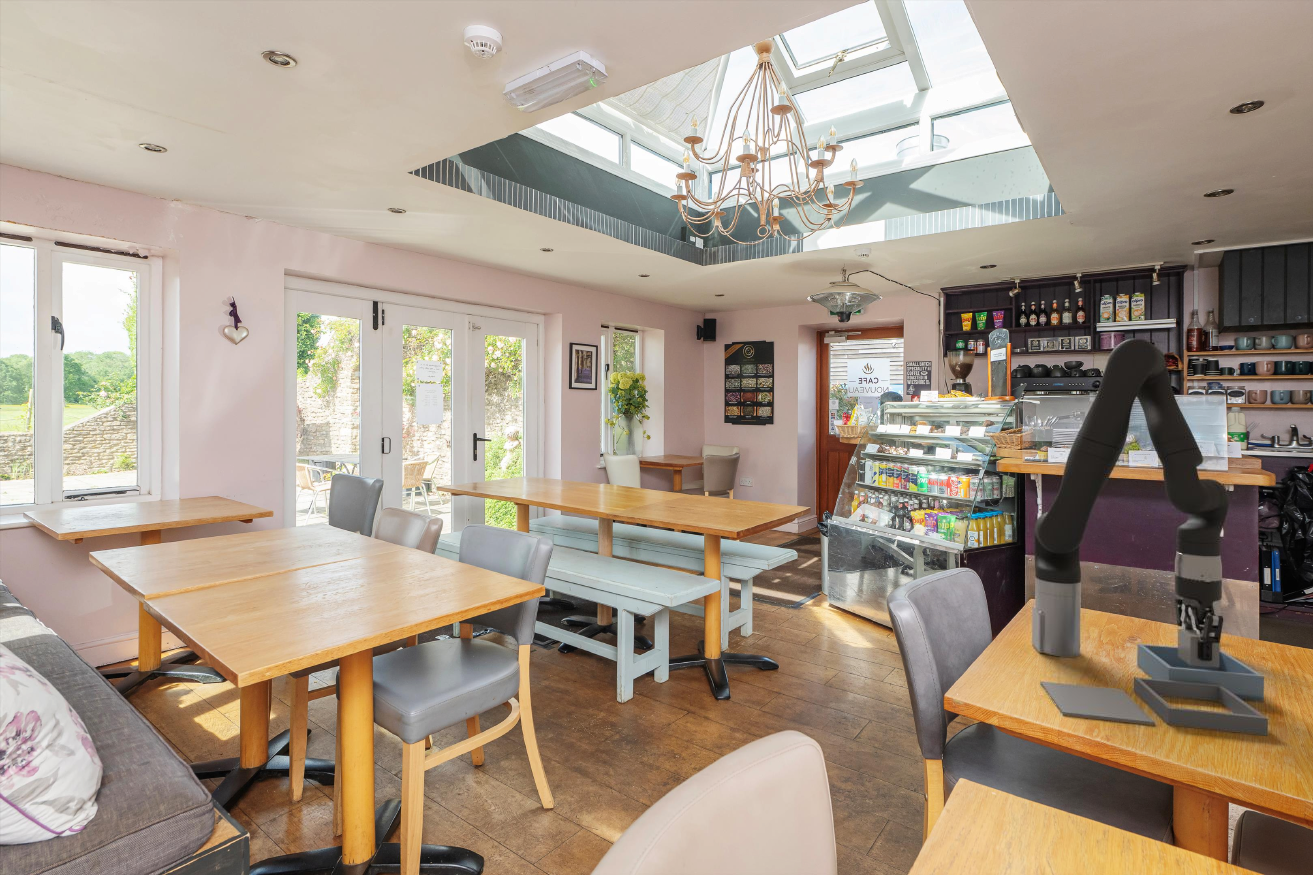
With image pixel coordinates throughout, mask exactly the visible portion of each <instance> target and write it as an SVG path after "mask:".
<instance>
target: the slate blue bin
mask: <svg viewBox="0 0 1313 875" xmlns="http://www.w3.org/2000/svg"><path fill="white" fill-rule="evenodd" d="M1136 654H1137V655H1136V659H1137V660H1136V666H1137V667H1138V668H1139V669H1140V670H1142V672H1144V674H1146V675H1147V676H1148V677H1150V679H1160V680H1171V681H1182V682H1192V683H1203V684H1214V685H1222V686H1223V687H1224V688H1226V689H1227V690H1229V691H1230V692H1231V693H1233V694H1234V695H1236V696H1237V697H1238V698H1240V699H1241V700H1243V701H1252V702H1260V703H1261V702H1262V703H1264V702H1265V700H1264V699H1265V693H1264V692H1265V676H1264V675H1262V674H1261V673H1259V672H1257V671H1256V670H1254V669H1252V668H1251V667H1249V665H1246V664H1244V663H1243V662H1242V661H1240V660H1238V659H1237V658H1235V657H1233V656H1232V655H1230V654H1228V653H1227V652H1225V651H1224V650H1222V649H1220V650H1219V667H1206V666H1193V665H1189V664H1188V663H1186V662H1185V661H1183V660H1182V659H1181V658H1179V657H1178V646H1173V645H1172V646H1169V645H1161V644H1160V645H1157V644H1147V643H1137V652H1136Z"/></svg>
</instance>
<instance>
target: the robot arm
mask: <svg viewBox="0 0 1313 875" xmlns="http://www.w3.org/2000/svg"><path fill="white" fill-rule="evenodd" d="M1167 366H1168V365H1167V363H1166V357H1165V355H1164V352H1163V351H1161V350H1160V349H1159V347H1158V346H1156V345H1154V344H1153V343H1151V342H1150V341H1148V340H1145V339H1144V338H1138V337H1137V338H1136V337H1135V338H1130V339H1126V340H1123V341H1122V342H1121V343H1119V344H1117V345H1116V346H1115V347H1114V348H1113V350H1111V353H1110V354H1109V356H1108V359H1107V361H1106V365H1105V368H1104V371H1103V375H1102V379H1101V381H1100V384H1099V387H1098V389H1097V390H1098V391H1097V393H1096V395H1095V397H1094V399H1093V401H1092V404H1091V406H1090V407H1089V410H1088V412H1087V413H1086V416H1085V418H1084V420H1083V423H1082V424H1081V426H1080V429H1079V430H1078V432H1077V434H1076V437H1075V439H1074V441H1073V443H1072V446H1071V448H1070V451H1069V453H1068V456H1067V459H1066V462H1065V467H1064V470H1063V474H1062V480H1061V484H1060V487H1059V490H1058V492H1057V495H1056V496H1055V498H1054V501H1053V502H1052V505H1051V506H1050V507H1049V510H1048V511H1047V512H1044V513H1043V514H1042V515H1040V516H1039V517H1038V518H1037V519H1036V521H1035V525H1034V569H1035V570H1034V573H1035V575H1034V576H1035V578H1034V579H1035V581H1034V583H1035V585H1034V587H1035V588H1034V590H1035V592H1034V596H1035V597H1034V605H1032V613H1031V617H1032V621H1031V622H1032V624H1031V626H1032V627H1031V628H1032V629H1031V633H1032V634H1031V643H1032V646H1033V647H1034V648H1035V650H1036V651H1037V652H1038V653H1040V654H1046V655H1050V656H1056V657H1063V658H1073V657H1079V656H1081V613H1082V612H1081V611H1082V609H1081V605H1082V602H1081V597H1082V595H1081V594H1082V569H1081V562H1080V560H1081V559H1080V546H1081V543H1082V542H1083V539H1084V535H1085V532H1086V528H1087V525H1088V522H1089V519H1090V517H1091V516H1090V515H1091V513H1092V511H1093V508H1094V505H1095V503H1096V502H1097V499H1098V497H1099V495H1100V494H1101V492H1102V490H1103V489H1104V488H1105V486H1106V484H1107V481H1108V480H1109V479H1110V476H1111V474H1112V472H1113V471H1114V468H1115V467H1116V465H1117V463H1118V461H1119V458H1120V456H1121V454H1122V453H1123V452H1122V451H1123V449H1124V447H1125V445H1126V442H1127V437H1128V433H1129V427H1130V419H1131V412H1132V409H1133V405H1134V403H1135V400H1136V398H1137V399H1138V401H1139V402H1138V403H1140V406H1141V409H1142V411H1143V414H1144V418H1145V422H1146V427H1147V430H1148V434H1149V437H1150V441H1151V444H1152V446H1153V447H1154V451H1155V452H1156V455H1157V457H1158V459H1159V461H1160V463H1161V465H1162V472H1163V480H1164V482H1163V483H1164V488H1165V493H1166V497H1167V499H1168V500H1169V503H1170V504H1171V505H1172V507H1174V508H1175V509H1176V510H1177V511H1178V512H1181V513H1183V514H1188V517H1187V520H1186V522H1184V523H1182V524H1180V525H1179V526H1178V527H1177V530H1176V555H1175V559H1174V594H1175V595H1176V596H1178V597H1180V598H1176V597H1175V598H1174V606H1175V607H1174V608H1175V615H1176V624H1177V626H1178V627H1180V629H1188V630H1195V631H1196V632H1197V638H1198V641H1199V642H1198V659H1200V660H1202V661H1211V660H1212V643H1219V644H1220V642H1221V638H1222V637H1221V636H1222V632H1223V631H1222V630H1223V626H1224V624H1223V623H1224V616H1222V615H1220V616H1217V615H1215V614H1214V608H1213V602H1215V601H1219V600H1221V601H1222V599H1223V596H1222V595H1223V565H1222V559H1221V558H1222V557H1221V533H1222V530H1223V529H1224V525H1225V522H1226V520H1227V518H1226V517H1227V516H1228V512H1229V507H1230V506H1229V505H1230V497H1229V493H1228V491H1227V489H1226V488H1225V486H1224V484H1222V483H1221V482H1219V481H1218V480H1215V479H1213V478H1212V479H1210V478H1201V479H1200V477H1199V476H1200V475H1199V473H1198V472H1199V471H1198V468H1197V467H1199V466H1201V465H1202V464H1203V462H1204V456H1203V453H1202V451H1201V450H1200V447H1199V445H1198V443H1197V441H1196V438H1195V436H1194V434H1193V432H1192V430H1191V428H1190V427H1189V426H1190V425H1189V424H1188V422H1187V420H1186V418H1185V416H1184V415H1183V412H1182V410H1181V409H1180V406H1179V404H1178V402H1177V401H1178V400H1177V399H1176V396H1175V394H1174V391H1173V387H1172V385H1171V381H1170V376H1169V373H1168V372H1169V371H1168V367H1167ZM1199 625H1204V627H1201V626H1199ZM1202 631H1203V635H1202ZM1214 633H1215V635H1214Z"/></svg>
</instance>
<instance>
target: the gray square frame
mask: <svg viewBox="0 0 1313 875" xmlns="http://www.w3.org/2000/svg"><path fill="white" fill-rule="evenodd" d="M1133 692H1134V694H1136V696H1138V698H1139V699H1141V700H1142V701H1143V703H1145V704H1146V705H1147V706H1148V707H1149V708H1150V710H1152V711H1153V712H1155V714H1156V715H1157V716H1158V717H1159V718H1161V720H1163V722H1165V723H1166V724H1167V725H1169V726H1176V727H1177V726H1178V727H1185V728H1186V727H1187V728H1196V729H1204V730H1205V729H1206V730H1214V731H1222V732H1223V731H1224V732H1230V733H1241V734H1247V735H1248V734H1249V735H1256V736H1257V735H1259V736H1265V737H1267V736H1268V735H1269V718H1268V717H1267V716H1265V715H1263V714H1262V713H1261V712H1259V711H1258V710H1257V709H1255V707H1252V706H1251V705H1250V704H1248V703H1247V702H1246V701H1245V700H1241V699H1240V698H1238V697H1237V696H1236V695H1234V694H1233V693H1231V692H1230V691H1229V690H1227V689H1226V688H1224V687H1223V686H1222V685H1214V684H1203V683H1192V682H1182V681H1171V680H1160V679H1152V678H1151V677H1150V678H1149V677H1147V678H1146V677H1138V676H1136V677H1135V676H1134V677H1133ZM1162 697H1171V698H1179V699H1188V700H1190V699H1191V700H1198V701H1199V700H1201V701H1210V702H1218V703H1220V704H1221V705H1222V706H1224V707H1225V708H1226V709H1227V710H1229V711H1230V712H1224V711H1223V712H1222V711H1216V710H1215V711H1213V710H1204V709H1203V710H1202V709H1195V708H1185V707H1178V706H1177V707H1176V706H1175V707H1174V706H1171V705H1170V704H1169V703H1168V702H1166V701H1165V700H1164V699H1163V698H1162Z"/></svg>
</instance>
